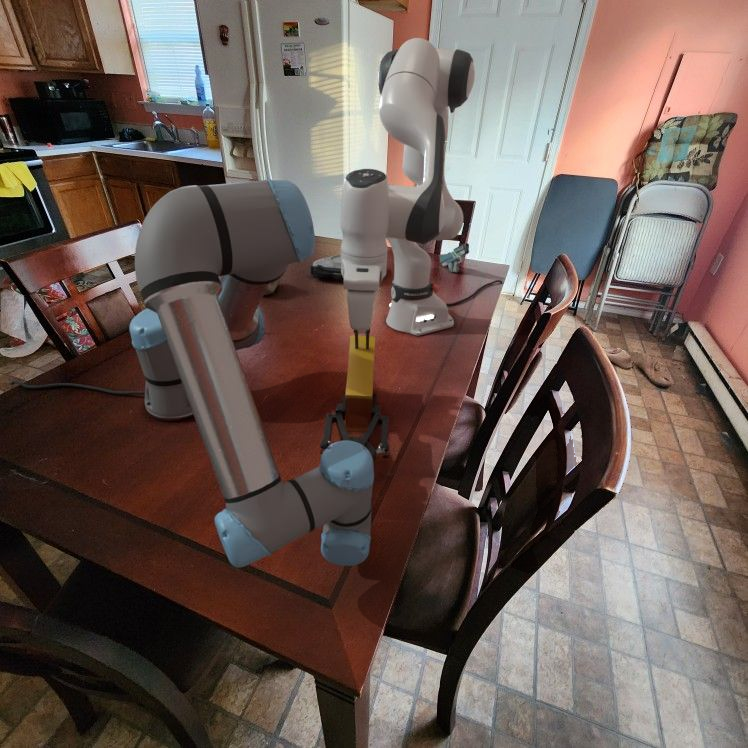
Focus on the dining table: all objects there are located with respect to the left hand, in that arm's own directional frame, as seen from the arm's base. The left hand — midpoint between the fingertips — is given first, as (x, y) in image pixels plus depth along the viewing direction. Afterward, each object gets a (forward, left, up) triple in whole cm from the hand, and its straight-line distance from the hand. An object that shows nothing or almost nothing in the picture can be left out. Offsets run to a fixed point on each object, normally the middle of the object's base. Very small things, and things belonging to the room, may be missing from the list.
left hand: (359, 397), depth 93 cm
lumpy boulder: (-39, +69, -6) cm, 79 cm away
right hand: (0, +4, +16) cm, 16 cm away
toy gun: (+34, +99, -6) cm, 104 cm away
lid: (0, +3, +7) cm, 7 cm away
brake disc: (-10, +92, -6) cm, 93 cm away
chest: (0, +3, -6) cm, 7 cm away
